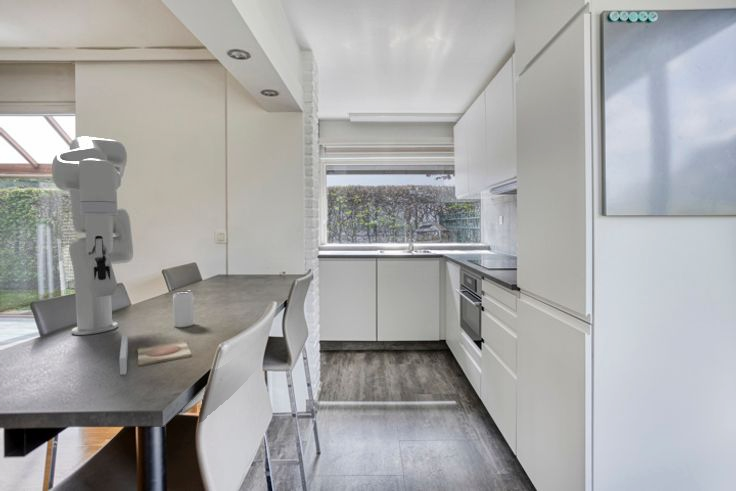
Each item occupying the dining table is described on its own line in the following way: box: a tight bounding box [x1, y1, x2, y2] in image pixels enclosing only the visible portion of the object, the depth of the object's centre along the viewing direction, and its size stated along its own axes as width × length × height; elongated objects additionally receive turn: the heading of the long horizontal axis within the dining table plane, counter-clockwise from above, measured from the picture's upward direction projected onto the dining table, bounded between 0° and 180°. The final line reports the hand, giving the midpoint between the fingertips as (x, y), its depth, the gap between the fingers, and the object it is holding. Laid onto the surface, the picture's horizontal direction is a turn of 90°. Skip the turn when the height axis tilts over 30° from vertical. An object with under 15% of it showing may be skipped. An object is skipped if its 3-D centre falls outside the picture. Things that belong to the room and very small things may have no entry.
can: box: [172, 289, 196, 329], centre depth 126 cm, size 6×6×12 cm
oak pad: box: [137, 339, 192, 367], centre depth 98 cm, size 14×12×1 cm
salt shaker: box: [89, 248, 118, 297], centre depth 91 cm, size 6×6×13 cm
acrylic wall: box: [118, 334, 129, 376], centre depth 93 cm, size 22×1×4 cm, turn 33°
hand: (103, 280), depth 92 cm, fingers closed on salt shaker, 3 cm apart
